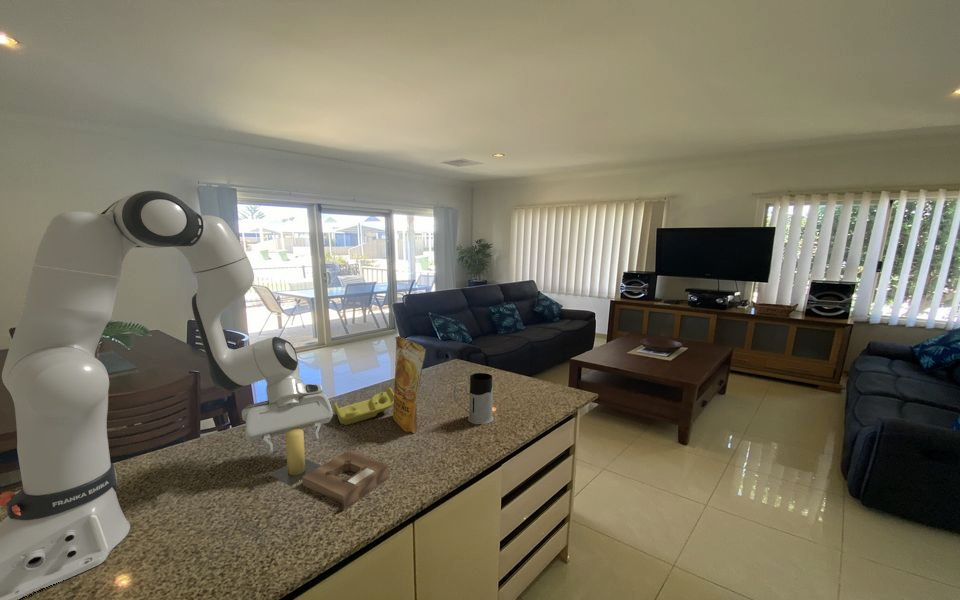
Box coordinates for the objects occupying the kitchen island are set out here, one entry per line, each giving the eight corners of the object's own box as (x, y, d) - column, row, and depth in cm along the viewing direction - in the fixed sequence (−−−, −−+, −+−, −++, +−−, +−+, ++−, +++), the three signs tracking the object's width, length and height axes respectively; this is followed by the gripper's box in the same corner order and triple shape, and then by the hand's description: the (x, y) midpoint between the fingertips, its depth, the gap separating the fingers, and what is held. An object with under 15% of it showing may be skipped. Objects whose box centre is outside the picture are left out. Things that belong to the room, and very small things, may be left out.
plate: (291, 491, 89) (291, 485, 88) (268, 480, 93) (268, 474, 93) (324, 472, 96) (323, 466, 96) (301, 462, 101) (301, 457, 101)
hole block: (344, 510, 82) (343, 495, 82) (302, 490, 89) (302, 476, 89) (388, 477, 94) (388, 464, 94) (349, 462, 101) (349, 449, 101)
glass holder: (498, 421, 126) (498, 378, 124) (458, 429, 120) (459, 384, 118) (486, 411, 134) (486, 371, 132) (449, 418, 128) (449, 376, 126)
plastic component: (341, 421, 121) (333, 399, 127) (341, 436, 124) (333, 414, 131) (399, 403, 131) (389, 384, 138) (397, 417, 135) (387, 398, 142)
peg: (294, 477, 92) (292, 438, 91) (284, 472, 94) (282, 434, 93) (308, 468, 95) (306, 431, 94) (298, 464, 97) (296, 427, 96)
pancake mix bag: (405, 410, 134) (404, 334, 131) (428, 432, 118) (427, 345, 115) (387, 414, 131) (385, 336, 127) (408, 437, 115) (406, 348, 111)
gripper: (240, 400, 92) (247, 455, 86) (327, 383, 104) (339, 430, 98) (240, 411, 97) (246, 464, 90) (324, 394, 108) (335, 440, 102)
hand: (295, 446), depth 94 cm, fingers open, 8 cm apart
